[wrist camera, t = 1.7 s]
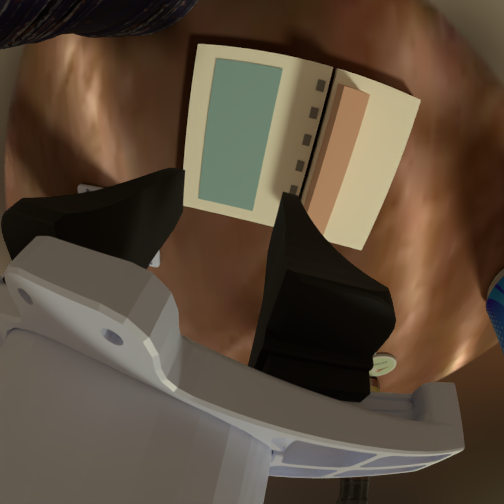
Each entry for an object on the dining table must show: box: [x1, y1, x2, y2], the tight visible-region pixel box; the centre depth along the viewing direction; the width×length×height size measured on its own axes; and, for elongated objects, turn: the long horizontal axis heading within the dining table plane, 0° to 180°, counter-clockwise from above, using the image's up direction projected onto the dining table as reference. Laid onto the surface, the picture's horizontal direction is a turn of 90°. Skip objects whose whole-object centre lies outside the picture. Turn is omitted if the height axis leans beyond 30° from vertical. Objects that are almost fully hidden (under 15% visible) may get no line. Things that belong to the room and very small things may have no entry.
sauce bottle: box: [336, 377, 381, 504], centre depth 30 cm, size 6×6×20 cm
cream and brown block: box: [300, 68, 421, 250], centre depth 18 cm, size 6×13×4 cm, turn 170°
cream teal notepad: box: [183, 44, 333, 227], centre depth 19 cm, size 9×13×1 cm
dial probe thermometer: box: [369, 353, 396, 376], centre depth 32 cm, size 5×1×15 cm
